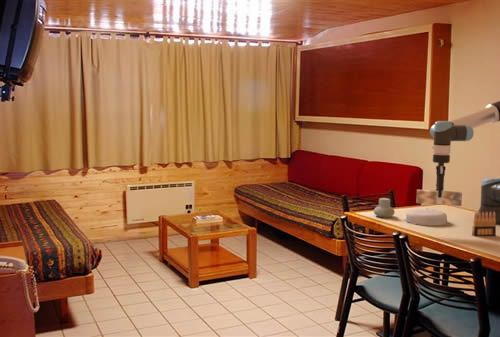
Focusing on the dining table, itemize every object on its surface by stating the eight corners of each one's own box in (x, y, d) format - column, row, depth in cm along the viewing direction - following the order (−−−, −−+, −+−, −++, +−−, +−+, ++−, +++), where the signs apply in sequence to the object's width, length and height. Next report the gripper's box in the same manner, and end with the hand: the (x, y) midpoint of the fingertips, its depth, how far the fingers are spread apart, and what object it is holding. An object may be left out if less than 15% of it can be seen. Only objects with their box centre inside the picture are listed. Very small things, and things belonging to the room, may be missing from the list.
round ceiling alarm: (422, 230, 269) (423, 218, 269) (391, 219, 292) (391, 208, 292) (462, 225, 279) (462, 214, 278) (428, 216, 302) (429, 205, 301)
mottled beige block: (460, 204, 258) (461, 191, 258) (461, 206, 255) (462, 193, 254) (416, 201, 264) (417, 189, 263) (416, 203, 260) (417, 190, 259)
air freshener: (386, 214, 304) (387, 196, 303) (396, 217, 297) (397, 199, 296) (371, 216, 299) (371, 198, 298) (381, 219, 292) (382, 201, 290)
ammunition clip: (473, 237, 255) (475, 212, 253) (471, 236, 257) (473, 211, 255) (495, 237, 256) (497, 211, 254) (493, 236, 257) (495, 211, 256)
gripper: (432, 152, 265) (429, 199, 268) (434, 155, 249) (431, 206, 252) (448, 152, 263) (445, 200, 266) (451, 156, 247) (448, 207, 250)
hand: (438, 203), depth 259 cm, fingers closed on mottled beige block, 4 cm apart
